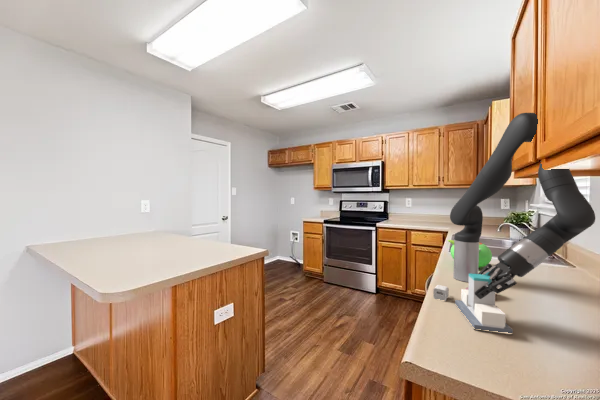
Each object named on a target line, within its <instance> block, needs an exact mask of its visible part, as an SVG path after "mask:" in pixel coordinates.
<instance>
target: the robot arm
mask: <svg viewBox="0 0 600 400" xmlns="http://www.w3.org/2000/svg"><path fill="white" fill-rule="evenodd" d="M535 113H536V112H522V113H519V114H517V115H516V116H515V117H513V118H512V119H511V121H510V122H509V124H508V125H507V127H506V129H505V130H504V132H503V134H502V136H501V138H500V139H499V142H498V143H497V145H496V147H495V149H494V150H493V152H492V154H491V155H490V157H489V158H488V160H487V161H486V163H485V164H484V165H483V167H482V168H481V169H480V171H479V173H478V174H477V175H476V177H475V179H474V180H473V182H472V183H471V184H470V186H469V188H468V189H467V190H466V191H465V192H464V194H463V195H462V196H461V197H460V199H459V200H458V201H457V202H456V203H455V204H454V206H453V207H452V209H451V210H450V214H449V219H450V222H451V223H452V224H454V225H456V226H463V229H462V230H460V231H457V232H456V233H454V236H453V237H454V239H453V241H454V259H453V278H454V279H455V280H457V281H461V282H466V283H469V273H470V274H482V275H489V276H490V278H489V279H490V281H489V282H487V283H486V284H485V286H486V287H485V286H483V287H481V288H480V289H479V290H477V291H476V292H475V295H476V296H477V297H478V298H479V299H482V298H483V297H485V296H486V295H488V294H489V293H490V292H495V294H500V293H502V292H504V291H506V290H507V289H510V288H511V287H514V286H515V285H517V281H515V279H514V278H515V276H517V277H519V278H523V277H524V276H526V275H527V274H528V273H530V272H531V271H533V270H534V269H535V268H537V267H538V266H540V265H541V264H542V263H543V262H544V261H545V260H547V258H549V257H550V256H551V255H553V254H554V253H555V252H557V251H558V250H560V249H561V248H562V247H563V246H564V245H565V244H566V243H567V242H569V241H571V240H572V239H574V238H575V237H577V236H578V235H580V234H581V233H583V232H585V231H586V230H587V229H589V228H590V227H592V226H593V224H595V222H596V213H595V211H594V208H593V207H592V205H591V203H590V202H589V201H588V199H586V197H585V196H584V195H583V193H582V192H580V189H579V186H578V185H577V182H576V180H575V177H574V176H573V174H572V172H571V170H570V168H569V169H551V170H544V169H543V168H542V164H541V163H539V165H538V166H539V167H538V171H537V177H538V182H539V185H540V186H541V189H542V191H543V194H544V195H545V198H546V199H547V200H548V201H550V202H551V203H552V204H553V207H554V209H555V212H556V214H555V215H554V216H553V217H552V218H550V219H549V220H547V222H545V224H543V225H542V226H541V227H538V228H535V229H534V230H533V231H531V232H530V233H528V234H527V235H526V236H525V237H524V238H522V239H519V240H518V241H516V242H515V243H514V244H513V245H511V246H510V247H509V248H507V249H506V250H505V251H503V252H502V253H501V254H500V255H498V256H497V260H498V261H499V262H497V263H495V264H494V265H492V264H491V263H489V264H487V265H486V266H484V267H482V269H481V270H479V268H480V267H479V242H480V238H481V236H482V232H483V230H482V229H483V221H484V219H483V218H484V215H483V211H482V209H481V206H479V204H480V203H482V202H484V201H486V200H487V199H489V198H491V197H493V196H494V195H496V194H497V193H498V192H499V191H500V190H501V189H502V188H503V187H504V186H505V185H506V183H507V182H508V181H509V179H510V178H511V176H512V172H513V157H514V156H515V154H516V153H517V151H518V150H519V148H520V147H521V146H522V145H523V144H524V143H532V142H531V141H532V139H533V137H534V135H535V134H536V130H537V124H538V119H537V115H536V114H535ZM492 283H493V284H492Z"/></svg>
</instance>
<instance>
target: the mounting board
mask: <svg viewBox="0 0 600 400" xmlns="http://www.w3.org/2000/svg"><path fill="white" fill-rule="evenodd" d="M460 290H461V291H460V292H461V293H460V299H459V300H458V299H455V300H454V305H455V304H456V305H457V306H458V307H457V306H456V305H455V306H456V307H457V309H458V308H459V309H460V310H461V311H460V310H459V309H458V310H459V311H460V313H461V312H462V313H463V314H464V315H465V316H466V318H467V319H468V320H469V322H470V323H471V324H472V326H473V327H474V328H475V329H481V330H489V331H498V332H508V333H514V332H513V331H514V329H513V328H512V327H511V326H509V325H508V324H507V322H506V313H505V312H504V311H502V310H501V308H499V307H498V306H497V305H495V306H493V305H484V304H475V309H473V308H472V307H471V306H470V304H469V303H468V290H466V288H460ZM462 313H461V314H462ZM463 314H462V315H463ZM464 315H463V316H464ZM466 318H465V319H466ZM467 319H466V320H467ZM469 322H468V323H469ZM472 326H471V327H472Z"/></svg>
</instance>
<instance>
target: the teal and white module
mask: <svg viewBox="0 0 600 400" xmlns="http://www.w3.org/2000/svg"><path fill="white" fill-rule="evenodd" d="M489 278H490V276H489V275H483V274H470V273H469V282H468V286H467V288H468V303H469V304H470V306H471V307H472V308H473V309H475V304H484V305H493V306H496V292H490V293H489V294H488V295H486V296H485V297H483V298H482V299H479V298H478V297H477V296H476V295H475V292H476V291H477V290H479V289H480V288H481V287H483V286H485V284H486V283H487V282H489V281H490V279H489ZM492 284H493V283H492ZM485 287H486V286H485Z"/></svg>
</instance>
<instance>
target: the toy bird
mask: <svg viewBox="0 0 600 400" xmlns="http://www.w3.org/2000/svg"><path fill="white" fill-rule="evenodd" d="M447 242H448V243H450V244H452V245H451V248H450V256H451V258H452V259H453V260H454V239H447ZM492 259H493V254H492V250H490V247H489V246H487V245H486V244H484V243H482V242H480V241H479V268H484V267H485V266H486V265H487V264H491V261H492Z"/></svg>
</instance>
